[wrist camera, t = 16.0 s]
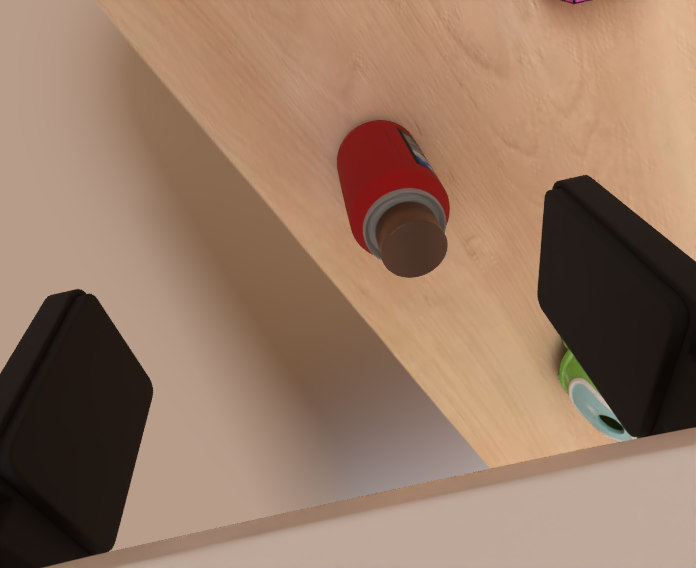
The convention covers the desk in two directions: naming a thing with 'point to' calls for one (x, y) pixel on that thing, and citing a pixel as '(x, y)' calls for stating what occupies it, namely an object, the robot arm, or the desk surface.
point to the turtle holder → (589, 399)
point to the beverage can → (385, 178)
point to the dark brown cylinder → (410, 239)
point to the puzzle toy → (575, 1)
